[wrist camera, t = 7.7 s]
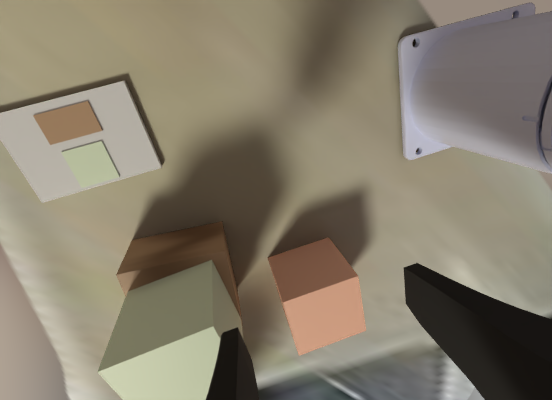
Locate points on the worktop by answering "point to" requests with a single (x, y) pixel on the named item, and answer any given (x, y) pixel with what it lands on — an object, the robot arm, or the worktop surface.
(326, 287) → the terracotta block
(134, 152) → the card
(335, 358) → the worktop surface
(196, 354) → the sage block
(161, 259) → the walnut block
